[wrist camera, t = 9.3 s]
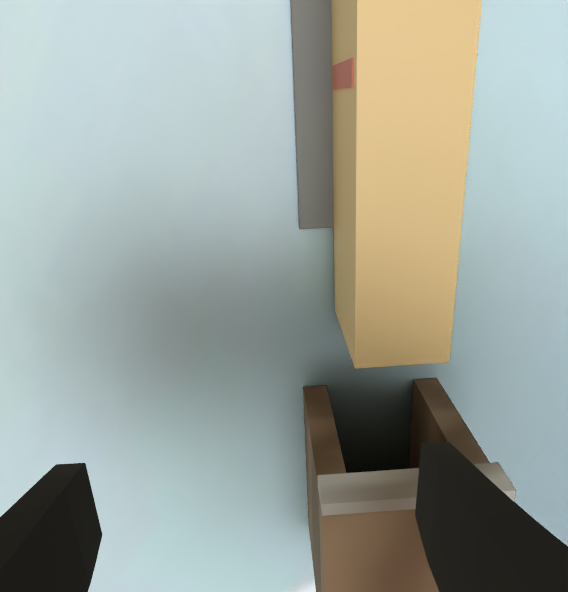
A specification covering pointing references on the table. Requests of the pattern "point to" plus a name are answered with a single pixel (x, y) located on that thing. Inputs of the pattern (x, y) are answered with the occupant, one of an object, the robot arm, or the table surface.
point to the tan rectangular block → (400, 172)
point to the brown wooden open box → (377, 498)
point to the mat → (313, 111)
